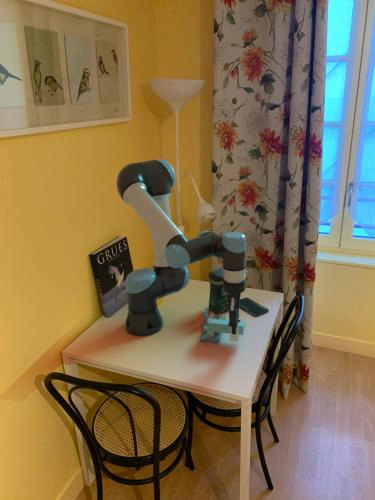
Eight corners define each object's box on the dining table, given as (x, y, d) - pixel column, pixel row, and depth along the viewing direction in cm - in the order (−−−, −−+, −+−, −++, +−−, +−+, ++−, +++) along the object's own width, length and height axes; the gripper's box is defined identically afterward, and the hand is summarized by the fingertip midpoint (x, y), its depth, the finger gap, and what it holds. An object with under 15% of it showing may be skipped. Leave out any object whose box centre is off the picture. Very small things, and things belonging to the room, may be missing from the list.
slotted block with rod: (197, 341, 152) (197, 325, 149) (207, 319, 166) (207, 304, 164) (218, 343, 150) (218, 327, 147) (226, 321, 164) (226, 306, 162)
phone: (246, 297, 182) (269, 310, 170) (246, 299, 182) (269, 312, 171) (232, 301, 178) (255, 315, 166) (232, 304, 179) (255, 318, 167)
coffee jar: (217, 316, 169) (217, 275, 162) (206, 309, 175) (204, 269, 168) (235, 308, 174) (235, 269, 167) (223, 302, 180) (222, 263, 173)
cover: (203, 330, 149) (203, 322, 148) (208, 320, 155) (207, 312, 154) (242, 335, 145) (243, 326, 144) (245, 325, 151) (245, 316, 150)
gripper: (243, 288, 126) (243, 351, 135) (247, 271, 138) (246, 330, 146) (220, 286, 128) (220, 349, 136) (225, 270, 140) (226, 329, 148)
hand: (234, 339), depth 141 cm, fingers closed
